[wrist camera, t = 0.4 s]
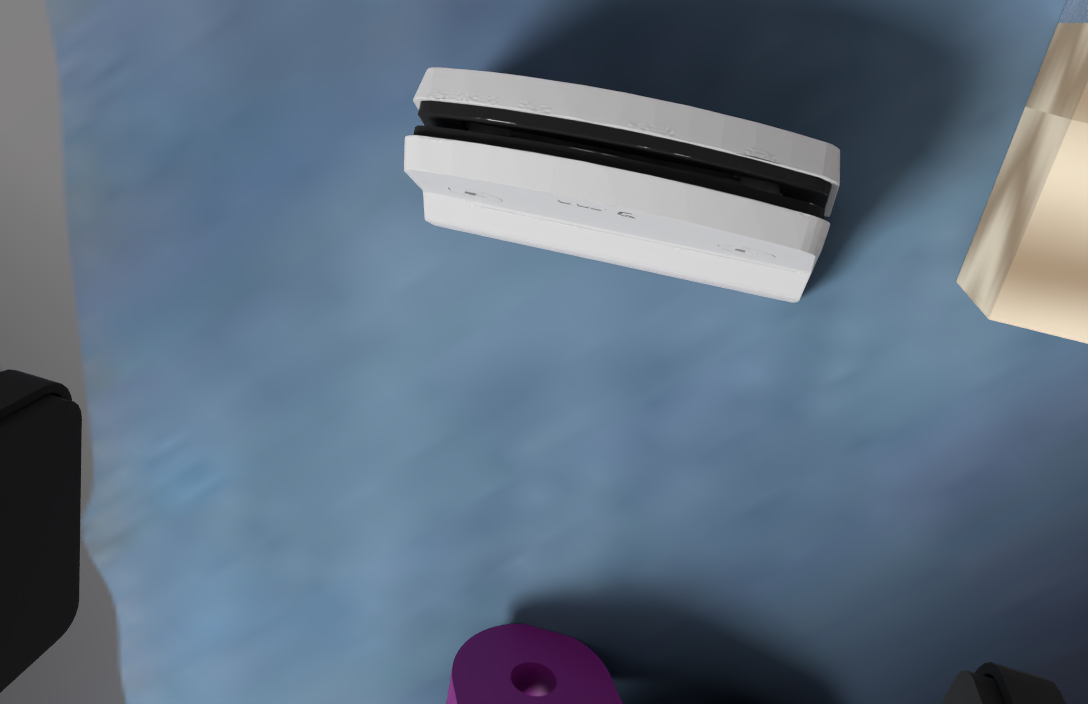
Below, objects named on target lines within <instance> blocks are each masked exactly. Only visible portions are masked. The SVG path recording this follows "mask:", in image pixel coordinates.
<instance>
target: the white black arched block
mask: <svg viewBox="0 0 1088 704" xmlns="http://www.w3.org/2000/svg"><path fill="white" fill-rule="evenodd" d="M413 101H414V103H415V105H416V106H417V108H418V110H419V112H418V115H419V117H420V119H421V120H422V122H423V123H424V125H425V126H416V127H415V130H414V135H408V136H406V137H405V157H404V171H405V172H406V173H407V174H408V175H409V176H410V177H411V178H412V180H413V181H414V182H415V183H416V184H417V185H418V186H419V187H420V188H421V189H422V190H423V196H424V212H425V220H426V221H428V222H430V223H431V224H433V225H436V226H440V227H445V228H450V229H454V230H459V231H463V232H468V233H473V234H477V235H482V236H487V237H491V238H496V239H500V240H505V241H510V242H514V243H519V244H524V245H528V246H533V247H538V248H542V249H547V250H551V251H556V252H561V253H565V254H570V255H575V256H579V257H584V258H588V259H593V260H598V261H602V262H607V263H612V264H616V265H621V266H625V267H630V268H635V269H639V270H644V271H649V272H653V273H658V274H662V275H667V276H672V277H676V278H681V279H686V280H690V281H695V282H699V283H704V284H709V285H713V286H718V287H723V288H727V289H732V290H737V291H741V292H746V293H750V294H755V295H760V296H764V297H769V298H774V299H778V300H783V301H787V302H792V303H794V302H797V301H799V300H800V298H801V296H802V293H803V291H804V289H805V286H806V284H807V282H808V280H809V277H810V275H811V273H812V271H813V269H814V266H815V264H816V262H817V260H818V257H819V255H820V253H821V251H822V248H823V245H824V242H825V239H826V236H827V233H828V230H829V227H830V223H829V222H827V221H826V220H824V219H823V218H824V216H827V217H830V214H831V211H832V208H833V204H834V201H835V198H836V195H837V192H838V189H839V186H840V150H839V149H838V148H837V147H836V146H834V145H832V144H830V143H827V142H823V141H820V140H817V139H813V138H810V137H807V136H803V135H800V134H797V133H793V132H790V131H786V130H783V129H779V128H775V127H772V126H768V125H764V124H761V123H757V122H753V121H749V120H745V119H741V118H737V117H733V116H729V115H724V114H720V113H716V112H712V111H708V110H704V109H700V108H696V107H692V106H687V105H683V104H678V103H673V102H668V101H663V100H658V99H654V98H649V97H644V96H639V95H634V94H629V93H624V92H619V91H613V90H608V89H602V88H597V87H591V86H586V85H580V84H573V83H567V82H560V81H553V80H547V79H540V78H533V77H527V76H519V75H511V74H503V73H495V72H485V71H474V70H464V69H452V68H440V67H434V68H429V69H427V71H426V73H425V75H424V77H423V80H422V82H421V84H420V86H419V88H418V90H417V93H416V95H415V97H414V99H413Z"/></svg>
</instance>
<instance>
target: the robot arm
mask: <svg viewBox="0 0 1088 704" xmlns="http://www.w3.org/2000/svg"><path fill="white" fill-rule="evenodd" d="M81 428H82V416H81V410H80V408H79V406H78V405H77V404H76V403H75V402H73V401H72V398H71V395H70V392H69V390H68V389H67V388H66V387H65V386H64V385H62V384H60V383H57V382H53V381H50V380H47V379H44V378H41V377H37V376H34V375H31V374H27V373H24V372H20V371H17V370H5V371H2V372H0V692H2V691H3V689H5V688H6V687H7V686H8V685H9V684H10V683H11V682H12V681H14V680H15V679H16V678H17V677H18V676H19V675H20V674H21V673H22V672H23V671H24V670H26V669H27V668H28V667H29V666H30V665H31V664H32V663H33V662H34V661H35V660H36V659H38V658H39V657H40V656H41V655H42V654H43V653H44V652H45V651H46V650H47V649H48V648H50V647H51V646H52V645H53V644H54V643H55V642H56V641H57V640H58V639H59V638H60V637H61V636H62V635H63V634H64V633H65V632H66V631H67V629H68V628H69V626H70V625H71V623H72V621H73V619H74V617H75V615H76V612H77V609H78V603H79V566H80V562H79V561H80V497H81V495H80V494H81ZM942 704H1066V703H1065V701H1064V699H1063V696H1062V694H1061V692H1060V690H1059V689H1058V688H1057V686H1056V685H1055V683H1054V682H1052V681H1050V680H1048V679H1045V678H1042V677H1039V676H1035V675H1032V674H1029V673H1025V672H1022V671H1019V670H1015V669H1012V668H1009V667H1005V666H1002V665H999V664H995V663H992V662H989V663H984V664H983V665H982V666H980V667H979V668H978V669H977V671H976V672H975V673H972V672H969V671H961V672H960V673H959V674H958V675H957V676H956V678H955V679H954V681H953V682H952V684H951V686H950V688H949V690H948V692H947V694H946V696H945V698H944V700H943V702H942Z"/></svg>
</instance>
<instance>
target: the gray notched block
mask: <svg viewBox="0 0 1088 704" xmlns="http://www.w3.org/2000/svg"><path fill="white" fill-rule="evenodd" d="M1058 23H1088V0H1067V2H1066V5H1065V7H1064V10H1063V12H1062V15H1061V17H1060V20H1059V22H1058Z"/></svg>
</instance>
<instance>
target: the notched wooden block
mask: <svg viewBox="0 0 1088 704" xmlns="http://www.w3.org/2000/svg"><path fill="white" fill-rule="evenodd" d="M956 282H957V283H958V284H959V285H960V287H961V288H962V289H963V290H964V291H965V292H966V293H967V295H968V296H969V297H970V298H971V299H972V300H973V302H974V303H975V304H976V305H977V306H978V307H979V309H980V310H981V311H982V312H983V313H984V314H985V315H986V317H987V318H988V319H990V320H994V321H998V322H1002V323H1006V324H1010V325H1014V326H1018V327H1022V328H1026V329H1031V330H1035V331H1039V332H1043V333H1047V334H1051V335H1055V336H1059V337H1063V338H1067V339H1071V340H1075V341H1079V342H1083V343H1087V344H1088V23H1058V25H1057V28H1056V30H1055V33H1054V35H1053V38H1052V40H1051V43H1050V45H1049V48H1048V50H1047V53H1046V55H1045V58H1044V60H1043V63H1042V66H1041V68H1040V71H1039V73H1038V76H1037V78H1036V81H1035V83H1034V86H1033V88H1032V91H1031V93H1030V96H1029V99H1028V101H1027V104H1026V106H1025V109H1024V111H1023V114H1022V116H1021V119H1020V121H1019V124H1018V126H1017V129H1016V131H1015V134H1014V137H1013V139H1012V142H1011V144H1010V147H1009V149H1008V152H1007V154H1006V157H1005V159H1004V162H1003V164H1002V167H1001V169H1000V172H999V175H998V177H997V180H996V182H995V185H994V187H993V190H992V192H991V195H990V197H989V200H988V202H987V205H986V208H985V210H984V213H983V215H982V218H981V220H980V223H979V225H978V228H977V230H976V233H975V235H974V238H973V240H972V243H971V246H970V248H969V251H968V253H967V256H966V258H965V261H964V263H963V266H962V268H961V271H960V273H959V276H958V278H957V281H956Z"/></svg>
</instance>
